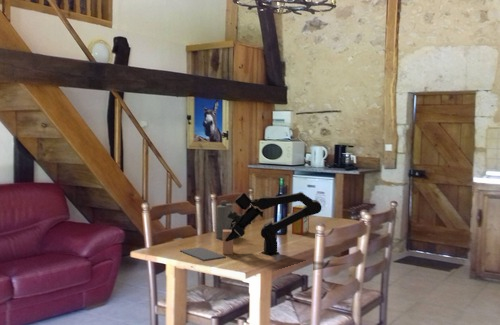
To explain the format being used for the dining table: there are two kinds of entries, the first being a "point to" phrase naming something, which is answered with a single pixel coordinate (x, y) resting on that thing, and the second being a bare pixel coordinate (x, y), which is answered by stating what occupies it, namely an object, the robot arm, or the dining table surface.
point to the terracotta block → (227, 243)
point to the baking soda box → (300, 222)
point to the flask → (223, 218)
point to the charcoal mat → (202, 253)
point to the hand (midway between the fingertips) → (225, 239)
